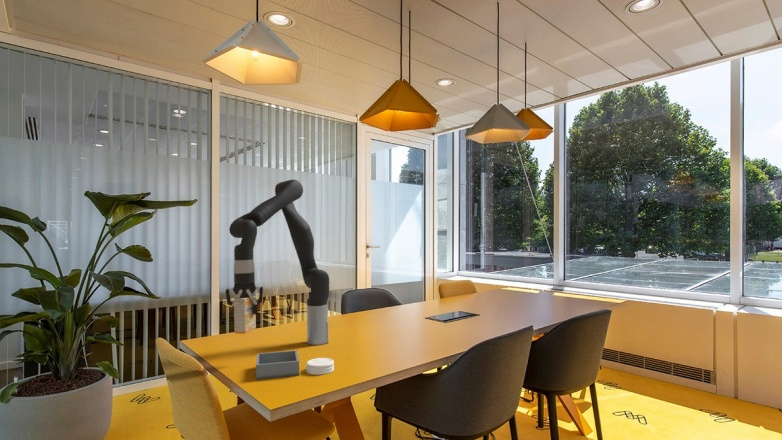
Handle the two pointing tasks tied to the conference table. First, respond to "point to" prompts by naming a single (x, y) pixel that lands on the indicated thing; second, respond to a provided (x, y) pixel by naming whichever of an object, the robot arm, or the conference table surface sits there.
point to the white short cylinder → (320, 366)
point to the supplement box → (244, 315)
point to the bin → (277, 364)
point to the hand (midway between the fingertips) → (245, 314)
